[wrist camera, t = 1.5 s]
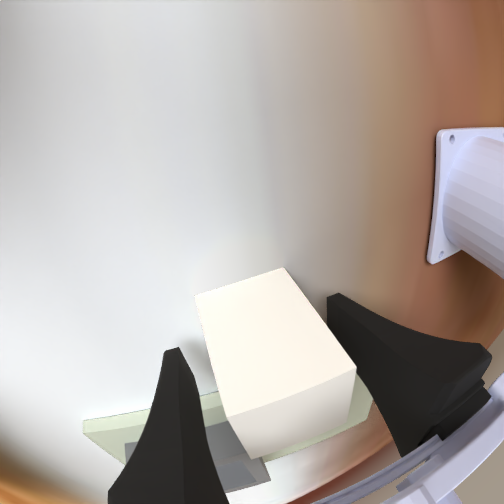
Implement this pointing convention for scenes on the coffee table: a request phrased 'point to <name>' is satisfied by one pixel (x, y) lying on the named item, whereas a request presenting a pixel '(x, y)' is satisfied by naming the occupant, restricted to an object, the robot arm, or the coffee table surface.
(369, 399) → the plate
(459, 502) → the robot arm
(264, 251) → the coffee table surface
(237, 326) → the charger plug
